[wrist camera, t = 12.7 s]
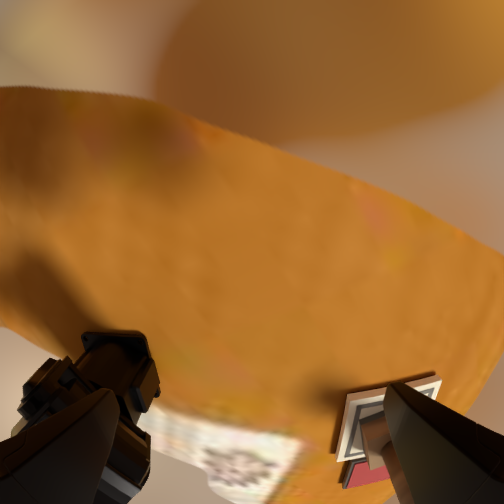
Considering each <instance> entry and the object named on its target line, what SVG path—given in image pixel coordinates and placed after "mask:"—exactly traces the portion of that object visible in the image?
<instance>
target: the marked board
mask: <svg viewBox="0 0 504 504" xmlns="http://www.w3.org/2000/svg"><path fill="white" fill-rule="evenodd" d="M441 382H442V379H441V378H440V377H439V376H438V375H434V376H431V377H427V378H423V379H419V380H415V381H411V382H407V383H405V384H407V385H408V386H410V387H412V388H414V389H415V390H417V391H419V392H421V393H423V394H424V395H426V396H428V397H430V398H432V399H433V400H435V398H436V396H437V393H438V390H439V387H440V385H441ZM386 388H387V387H384V388H379V389H374V390H369V391H363V392H357V393H351V394H347V399H346V405H345V411H344V416H343V421H342V426H341V431H340V436H339V441H338V445H337V450H336V454H335V458H336V461H337V462H341V461H346V460H351V459H357V458H361V457H365V454H364V452H363V445H362V438H361V431H360V424H359V419H362V418H365V417H367V416H370V415H373V414H375V413H378V412H380V411H383V410H384V409H383V399H384V396H385V392H386Z"/></svg>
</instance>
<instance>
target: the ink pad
mask: <svg viewBox="0 0 504 504" xmlns="http://www.w3.org/2000/svg"><path fill="white" fill-rule="evenodd" d="M389 478H390V476H389V473H388V471H387V468H386V466H385V465H384V466H381V467H379V468H376V469H373V470H371V471H370V469H369V466H368V463H367V460H366V457H361V458H357V459H351V460H350V461H349V465H348V468H347V471H346V474H345V477H344V480H343V483H342V488H343V489H347V488H352V487H357V486H361V485H366V484H370V483H374V482H378V481H382V480H385V479H389Z"/></svg>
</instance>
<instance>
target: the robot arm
mask: <svg viewBox="0 0 504 504" xmlns="http://www.w3.org/2000/svg"><path fill="white" fill-rule="evenodd" d="M86 337H87V338H88V339H87V338H86ZM81 339H82V342H83V345H84V348H85V352H84V353H83V354H82V355H81V357H80V358H79V359H78V360H77V361H76V362H75V363H74V364H73V363H72V360H71V359H70V358H69V357H68V356H66V357H65V358H64V359H63V360H61V359H59V360H55V359H52V358H49V359H48V360H47V361H46V362H45V363H44V364H43V365H42V366H41V367H40V368H39V369H38V370H37V371H36V372H35V373H34V374H33V375H32V376H31V377H30V378H29V380H28V381H27V382H26V383H25V384H24V385H23V398H22V399H21V404H20V405H19V407H18V409H17V411H18V412H19V413H20V414H21V415H22V416H23V417H22V418H21V420H20V421H19V422H18V423H17V424H16V425H15V426H14V428H13V429H12V431H11V438H9V439H6V440H4V441H2V442H0V504H127V503H128V502H129V501H130V500H131V499H132V498H133V497H134V496H135V495H136V494H137V493H138V492H139V491H141V489H142V487H143V486H144V484H145V483H146V481H147V479H148V477H149V473H150V449H151V436H150V435H149V434H148V433H147V432H144V431H142V430H141V429H140V428H139V427H138V426H136V424H137V422H138V420H139V418H140V415H141V413H146V412H147V411H148V409H149V407H150V405H151V402H152V400H153V398H154V397H155V398H157V397H159V396H160V393H161V391H160V387H159V384H160V381H159V377H158V373H157V370H156V366H155V362H154V360H153V359H152V358H151V355H150V351H149V347H148V342H147V339H146V338H145V336H143V335H133V334H112V333H96V332H84V333H83V334H82V335H81ZM139 340H141V341H142V342H143V343H141V342H140V341H139ZM383 409H384V412H385V416H386V420H387V424H388V428H389V432H390V436H391V440H392V443H393V446H394V449H395V452H396V454H397V457H398V459H399V462H400V465H401V467H402V470H403V473H404V476H405V478H406V481H407V484H408V487H409V490H410V493H411V495H412V498H413V501H414V504H504V436H503V435H501V434H499V433H496V432H494V431H492V430H490V429H488V428H486V427H484V426H482V425H480V424H476V422H474V421H472V420H470V419H468V418H467V417H465V416H463V415H461V414H459V413H457V412H455V411H454V410H452V409H450V408H448V407H446V406H444V405H442V404H441V403H439V402H437V401H435V400H433V399H432V398H430V397H428V396H426V395H424V394H423V393H421V392H419V391H417V390H415V389H414V388H412V387H410V386H408V385H407V384H405V383H403V382H401V381H396V382H391V383H389V384H388V385H387V388H386V392H385V396H384V399H383Z"/></svg>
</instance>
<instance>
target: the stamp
mask: <svg viewBox="0 0 504 504" xmlns="http://www.w3.org/2000/svg"><path fill="white" fill-rule="evenodd" d="M359 424H360V431H361V438H362V445H363V452H364V454H365V457H366V460H367V463H368V466H369V469H370V471H371V470H373V469H376V468H379V467H381V466H384V465H385V466H386V468H387V471H388V473H389V476H390V478H391V481H392V484H393V486H394V489H395V492H396V494H397V497H398V500H399V502H400V504H414V501H413V498H412V495H411V493H410V490H409V487H408V484H407V481H406V478H405V476H404V473H403V470H402V467H401V465H400V462H399V459H398V457H397V454H396V452H395V449H394V446H393V443H392V440H391V436H390V432H389V428H388V424H387V420H386V416H385V412H384V410H383V411H380V412H378V413H375V414H373V415H370V416H367V417H365V418H362V419H359Z"/></svg>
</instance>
